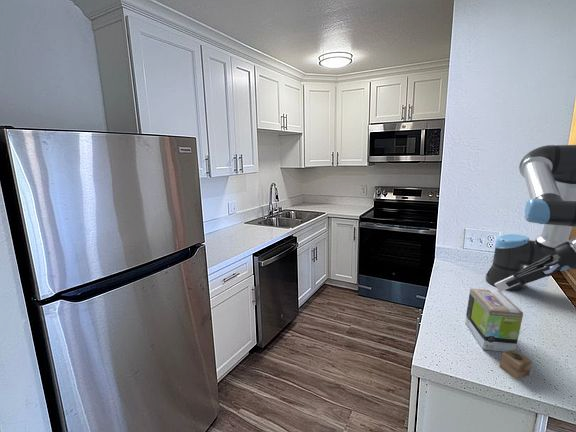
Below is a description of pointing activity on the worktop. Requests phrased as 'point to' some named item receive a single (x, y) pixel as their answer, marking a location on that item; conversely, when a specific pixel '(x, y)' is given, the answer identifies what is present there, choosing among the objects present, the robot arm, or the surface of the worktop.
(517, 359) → the walnut block
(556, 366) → the worktop surface
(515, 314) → the tea box
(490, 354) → the worktop surface
